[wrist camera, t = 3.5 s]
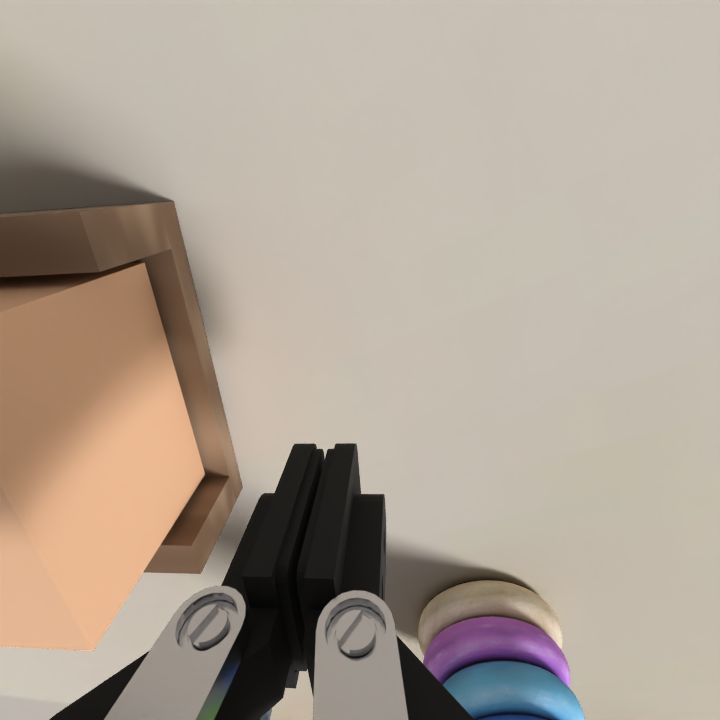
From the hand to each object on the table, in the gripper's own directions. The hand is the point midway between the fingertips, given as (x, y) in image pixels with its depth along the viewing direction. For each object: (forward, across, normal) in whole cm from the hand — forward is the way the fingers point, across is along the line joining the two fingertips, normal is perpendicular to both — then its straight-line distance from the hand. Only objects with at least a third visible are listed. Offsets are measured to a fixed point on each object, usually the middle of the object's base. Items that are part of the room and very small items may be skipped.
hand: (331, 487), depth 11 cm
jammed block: (+6, +11, 0) cm, 13 cm away
